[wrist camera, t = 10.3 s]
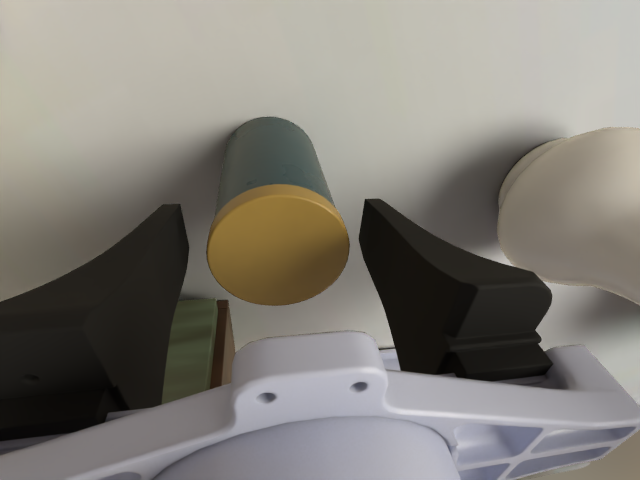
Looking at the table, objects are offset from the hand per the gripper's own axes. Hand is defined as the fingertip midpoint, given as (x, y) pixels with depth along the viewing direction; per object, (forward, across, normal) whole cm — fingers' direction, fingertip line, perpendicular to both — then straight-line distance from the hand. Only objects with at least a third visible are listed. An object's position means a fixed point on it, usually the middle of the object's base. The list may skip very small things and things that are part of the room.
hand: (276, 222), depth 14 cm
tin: (+6, 0, 0) cm, 6 cm away
